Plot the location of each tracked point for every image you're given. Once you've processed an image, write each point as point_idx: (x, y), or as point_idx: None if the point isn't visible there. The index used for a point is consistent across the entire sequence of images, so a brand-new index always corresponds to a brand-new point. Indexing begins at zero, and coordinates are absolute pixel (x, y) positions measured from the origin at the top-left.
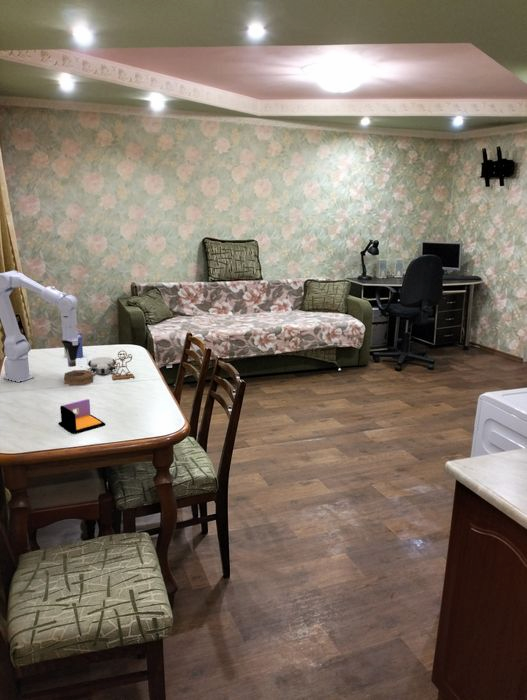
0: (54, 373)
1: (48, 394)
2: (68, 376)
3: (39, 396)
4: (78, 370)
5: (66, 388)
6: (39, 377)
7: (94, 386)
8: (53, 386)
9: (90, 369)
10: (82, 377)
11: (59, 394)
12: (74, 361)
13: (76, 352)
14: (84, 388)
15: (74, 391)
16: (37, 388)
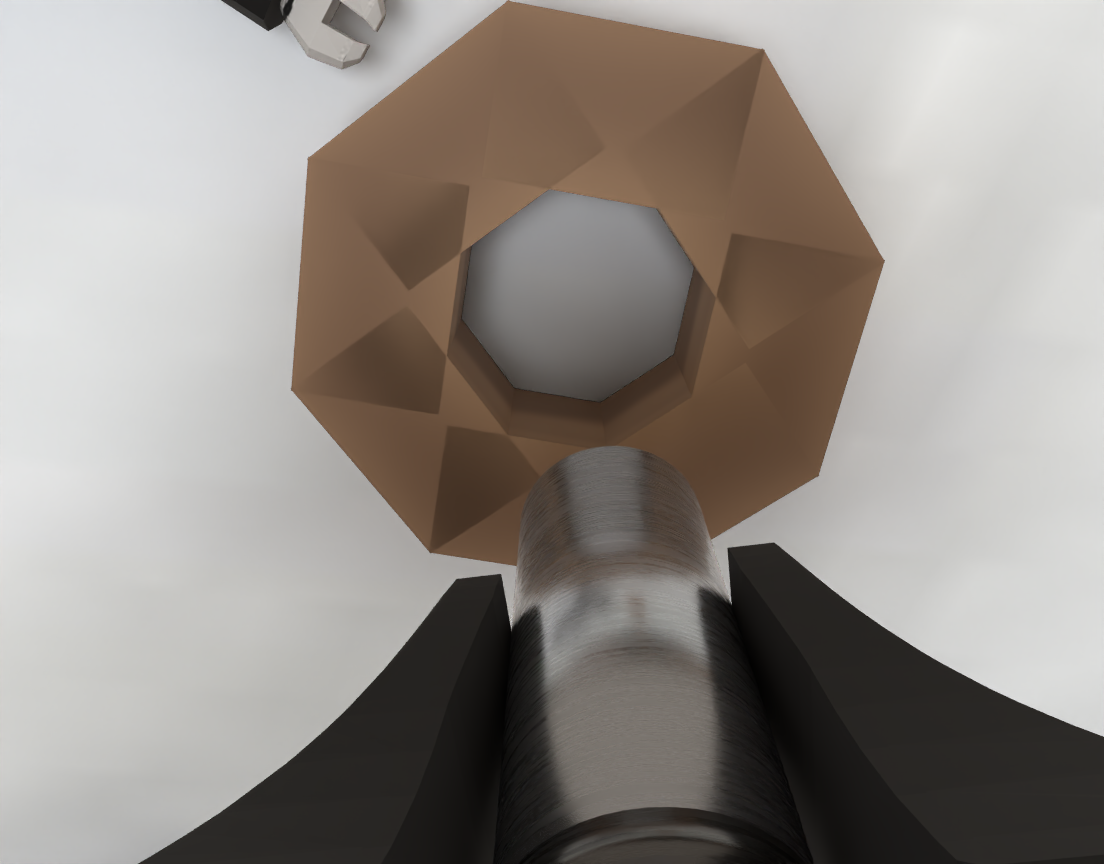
0: (41, 600)
1: None
2: None
3: None
4: (325, 296)
5: (867, 521)
6: (203, 788)
7: (1004, 70)
8: None
9: (265, 17)
10: (839, 287)
11: (1080, 632)
12: (705, 540)
13: (906, 662)
14: (1016, 262)
15: (1073, 431)
16: None
